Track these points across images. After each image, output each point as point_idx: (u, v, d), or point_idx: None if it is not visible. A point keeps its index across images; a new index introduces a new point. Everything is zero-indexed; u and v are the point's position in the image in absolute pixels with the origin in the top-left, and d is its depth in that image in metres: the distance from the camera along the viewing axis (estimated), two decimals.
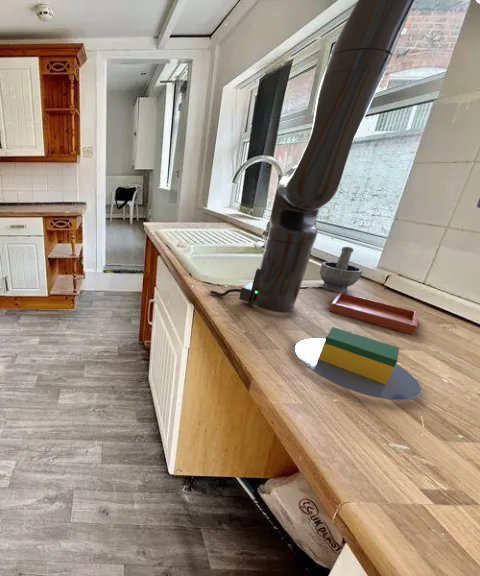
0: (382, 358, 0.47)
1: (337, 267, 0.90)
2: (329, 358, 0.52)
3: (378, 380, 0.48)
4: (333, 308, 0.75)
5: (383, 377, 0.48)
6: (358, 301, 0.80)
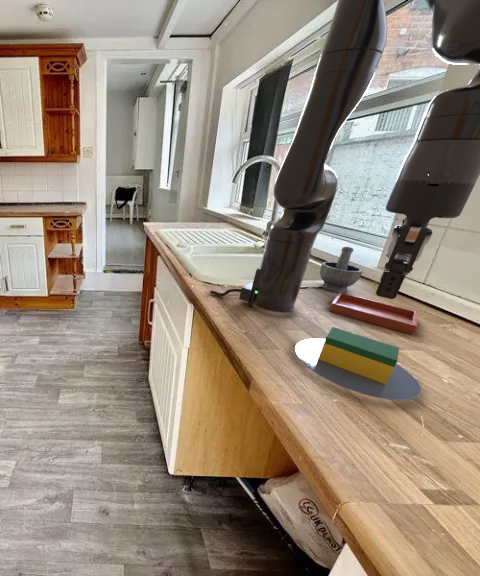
0: (382, 358, 0.47)
1: (337, 267, 0.90)
2: (329, 358, 0.52)
3: (378, 380, 0.48)
4: (333, 308, 0.75)
5: (383, 377, 0.48)
6: (358, 301, 0.80)
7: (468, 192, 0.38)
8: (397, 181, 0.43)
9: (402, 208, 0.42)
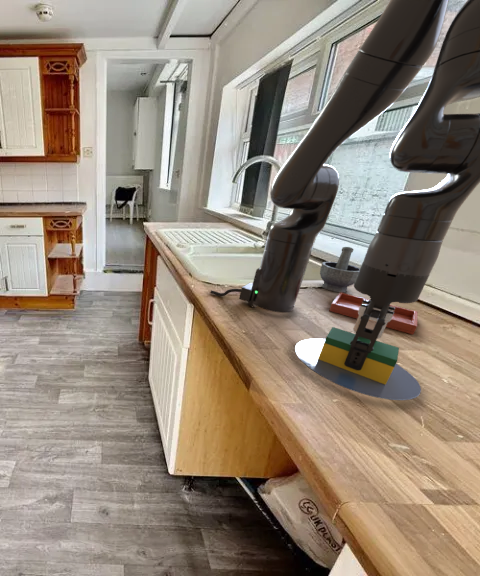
0: (382, 358, 0.47)
1: (337, 267, 0.90)
2: (329, 358, 0.52)
3: (378, 380, 0.48)
4: (333, 308, 0.75)
5: (383, 377, 0.48)
6: (358, 301, 0.80)
7: (422, 283, 0.43)
8: (362, 265, 0.47)
9: (366, 291, 0.46)
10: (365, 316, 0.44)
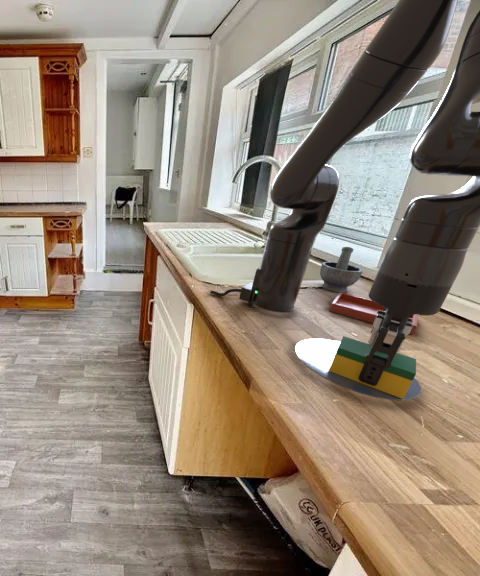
0: (399, 370, 0.44)
1: (337, 267, 0.90)
2: (341, 370, 0.49)
3: (395, 394, 0.45)
4: (333, 308, 0.75)
5: (400, 391, 0.45)
6: (358, 301, 0.80)
7: (445, 294, 0.40)
8: (378, 273, 0.44)
9: (383, 302, 0.43)
10: (383, 329, 0.41)
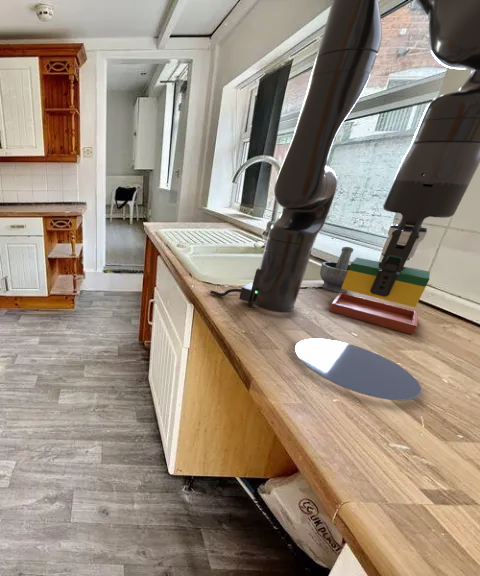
0: (412, 278, 0.44)
1: (337, 267, 0.90)
2: (353, 286, 0.50)
3: (407, 303, 0.45)
4: (333, 308, 0.75)
5: (413, 299, 0.45)
6: (358, 301, 0.80)
7: (461, 193, 0.40)
8: (394, 181, 0.45)
9: (398, 207, 0.44)
10: (397, 231, 0.42)
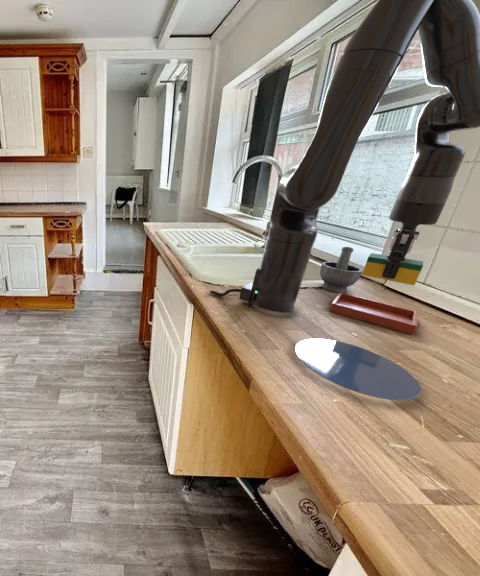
0: (411, 265, 0.66)
1: (337, 267, 0.90)
2: (370, 272, 0.71)
3: (408, 283, 0.67)
4: (333, 308, 0.75)
5: (412, 280, 0.66)
6: (358, 301, 0.80)
7: (440, 208, 0.62)
8: (396, 201, 0.66)
9: (399, 218, 0.65)
10: (399, 234, 0.63)
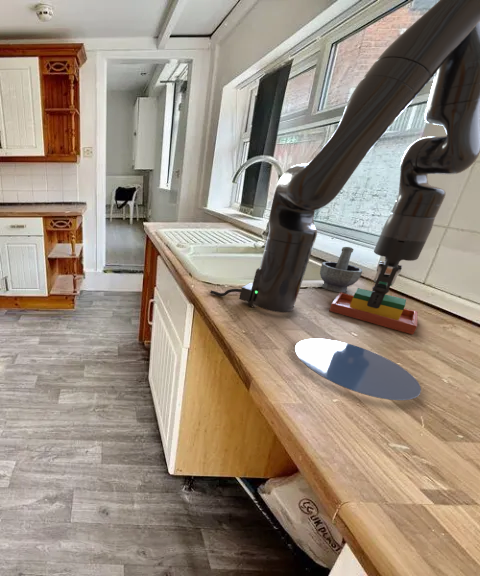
0: (394, 304, 0.69)
1: (337, 267, 0.90)
2: (356, 308, 0.74)
3: None
4: (333, 308, 0.75)
5: (395, 318, 0.70)
6: None
7: (421, 246, 0.65)
8: (380, 236, 0.69)
9: (383, 253, 0.68)
10: (385, 265, 0.66)
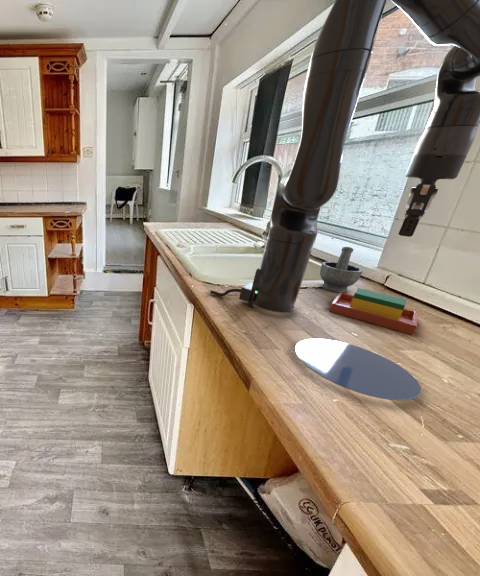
0: (394, 304, 0.69)
1: (337, 267, 0.90)
2: (356, 308, 0.74)
3: None
4: (333, 308, 0.75)
5: (395, 318, 0.70)
6: None
7: (462, 161, 0.59)
8: (414, 156, 0.63)
9: (417, 173, 0.62)
10: (420, 184, 0.60)
